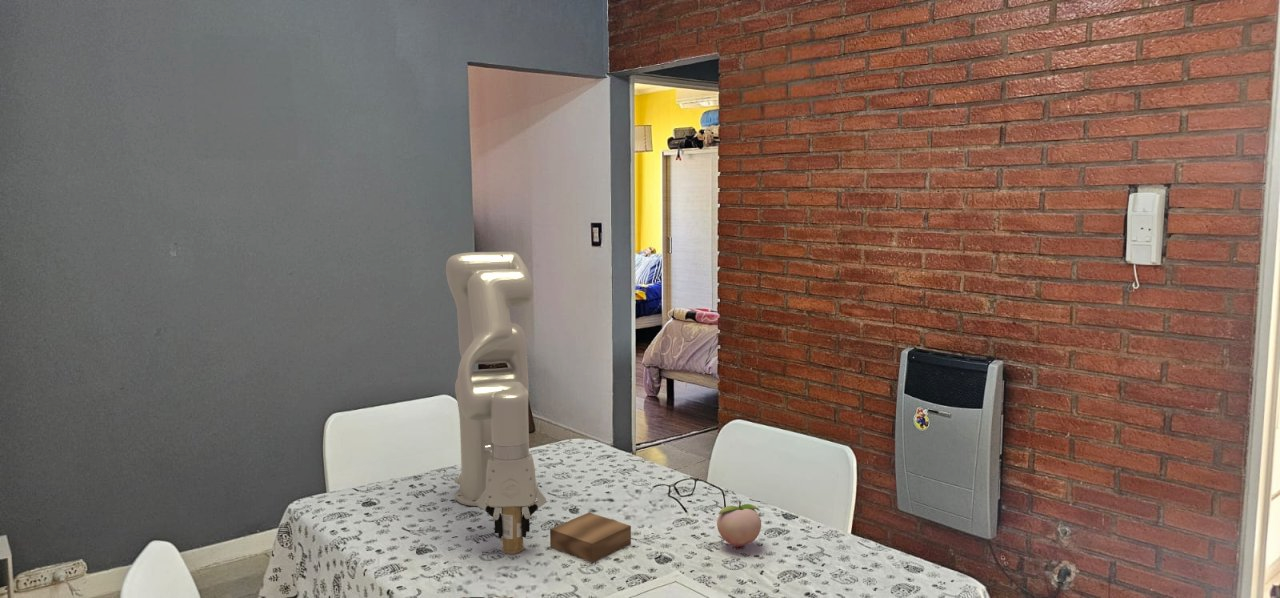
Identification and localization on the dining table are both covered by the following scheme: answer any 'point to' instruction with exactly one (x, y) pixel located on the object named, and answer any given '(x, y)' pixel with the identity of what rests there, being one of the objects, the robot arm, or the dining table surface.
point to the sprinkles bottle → (512, 530)
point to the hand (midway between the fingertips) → (512, 534)
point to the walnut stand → (590, 537)
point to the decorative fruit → (739, 524)
